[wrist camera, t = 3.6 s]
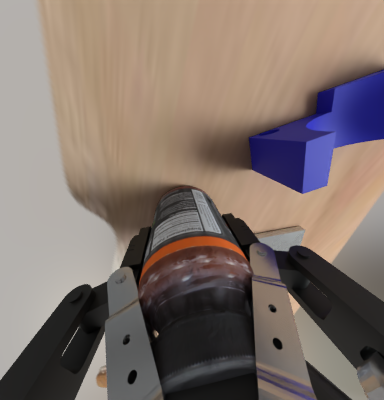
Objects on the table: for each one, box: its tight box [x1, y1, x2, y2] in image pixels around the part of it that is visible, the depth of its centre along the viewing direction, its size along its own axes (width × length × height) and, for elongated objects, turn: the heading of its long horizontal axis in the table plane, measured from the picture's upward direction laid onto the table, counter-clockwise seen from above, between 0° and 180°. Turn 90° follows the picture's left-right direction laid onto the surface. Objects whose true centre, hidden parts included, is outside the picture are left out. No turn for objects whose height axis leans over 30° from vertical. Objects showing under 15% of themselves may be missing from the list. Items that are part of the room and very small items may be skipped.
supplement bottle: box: [138, 186, 255, 394], centre depth 9 cm, size 6×6×11 cm
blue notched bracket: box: [249, 69, 384, 194], centre depth 10 cm, size 12×4×6 cm, turn 108°
